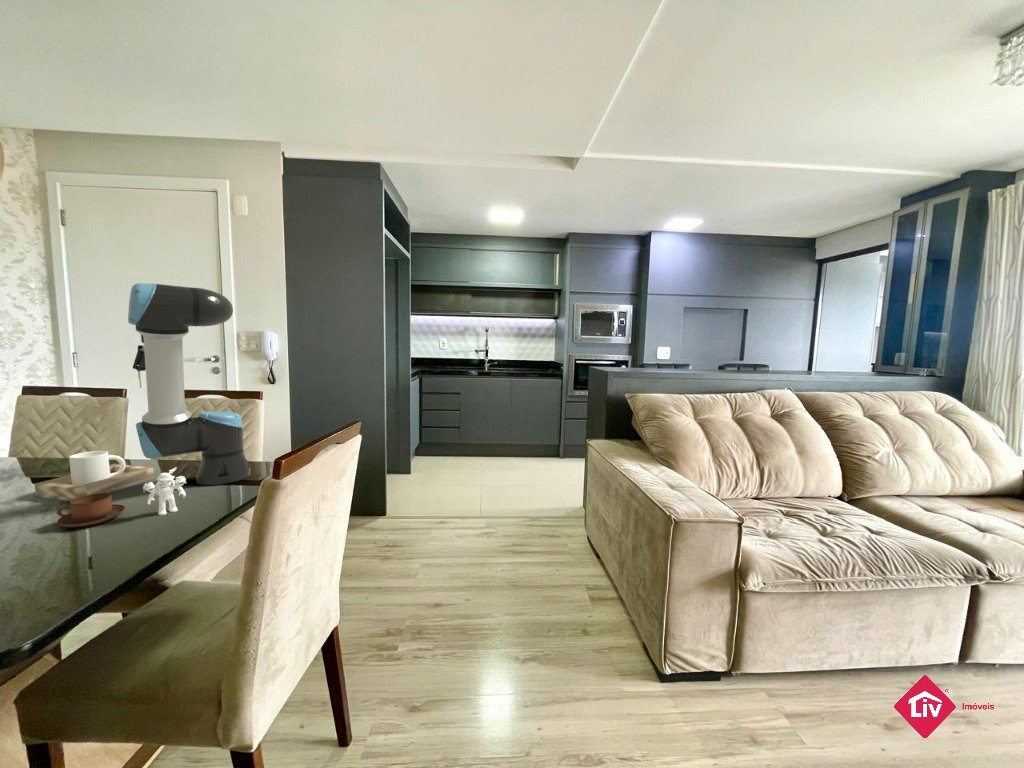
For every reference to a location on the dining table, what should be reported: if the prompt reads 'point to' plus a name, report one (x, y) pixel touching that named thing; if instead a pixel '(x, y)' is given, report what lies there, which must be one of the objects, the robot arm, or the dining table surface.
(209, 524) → the dining table surface
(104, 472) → the mug
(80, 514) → the cup and saucer
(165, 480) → the white toy figurine
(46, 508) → the dining table surface
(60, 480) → the board
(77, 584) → the dining table surface
